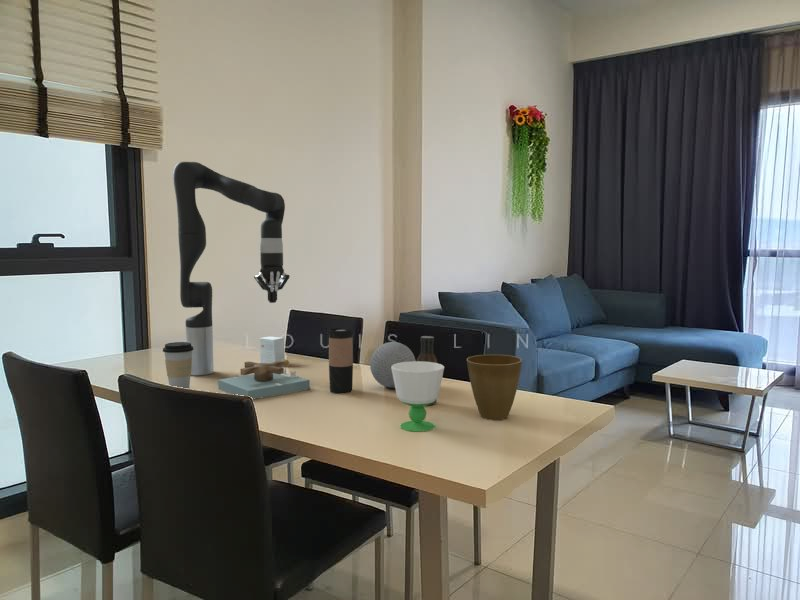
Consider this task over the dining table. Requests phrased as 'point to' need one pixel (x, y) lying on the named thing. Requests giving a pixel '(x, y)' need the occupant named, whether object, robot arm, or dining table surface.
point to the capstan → (264, 369)
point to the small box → (271, 349)
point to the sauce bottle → (427, 352)
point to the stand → (264, 385)
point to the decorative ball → (388, 361)
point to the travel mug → (340, 360)
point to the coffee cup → (178, 363)
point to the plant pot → (494, 383)
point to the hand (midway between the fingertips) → (272, 302)
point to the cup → (417, 390)
